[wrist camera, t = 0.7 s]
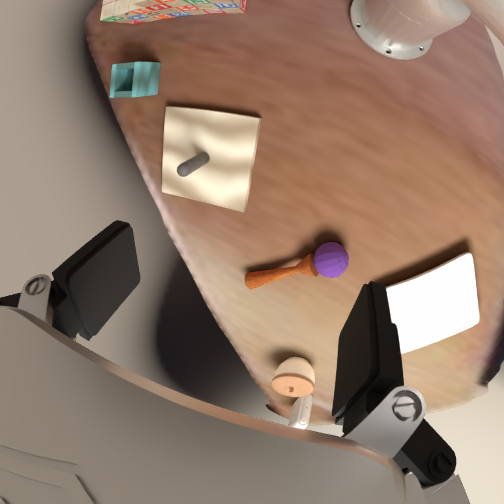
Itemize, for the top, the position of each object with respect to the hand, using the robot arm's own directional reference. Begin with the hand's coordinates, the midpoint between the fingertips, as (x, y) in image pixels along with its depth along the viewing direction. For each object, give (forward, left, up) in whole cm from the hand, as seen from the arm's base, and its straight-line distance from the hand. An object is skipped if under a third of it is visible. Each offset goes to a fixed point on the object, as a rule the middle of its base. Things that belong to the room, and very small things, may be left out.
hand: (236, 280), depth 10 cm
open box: (-7, -29, -34) cm, 46 cm away
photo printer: (+73, +20, -34) cm, 84 cm away
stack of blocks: (-22, -24, -34) cm, 47 cm away
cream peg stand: (+6, -16, -34) cm, 38 cm away
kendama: (+22, +3, -35) cm, 41 cm away
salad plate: (+22, +34, -35) cm, 53 cm away
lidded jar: (+53, +13, -34) cm, 65 cm away
